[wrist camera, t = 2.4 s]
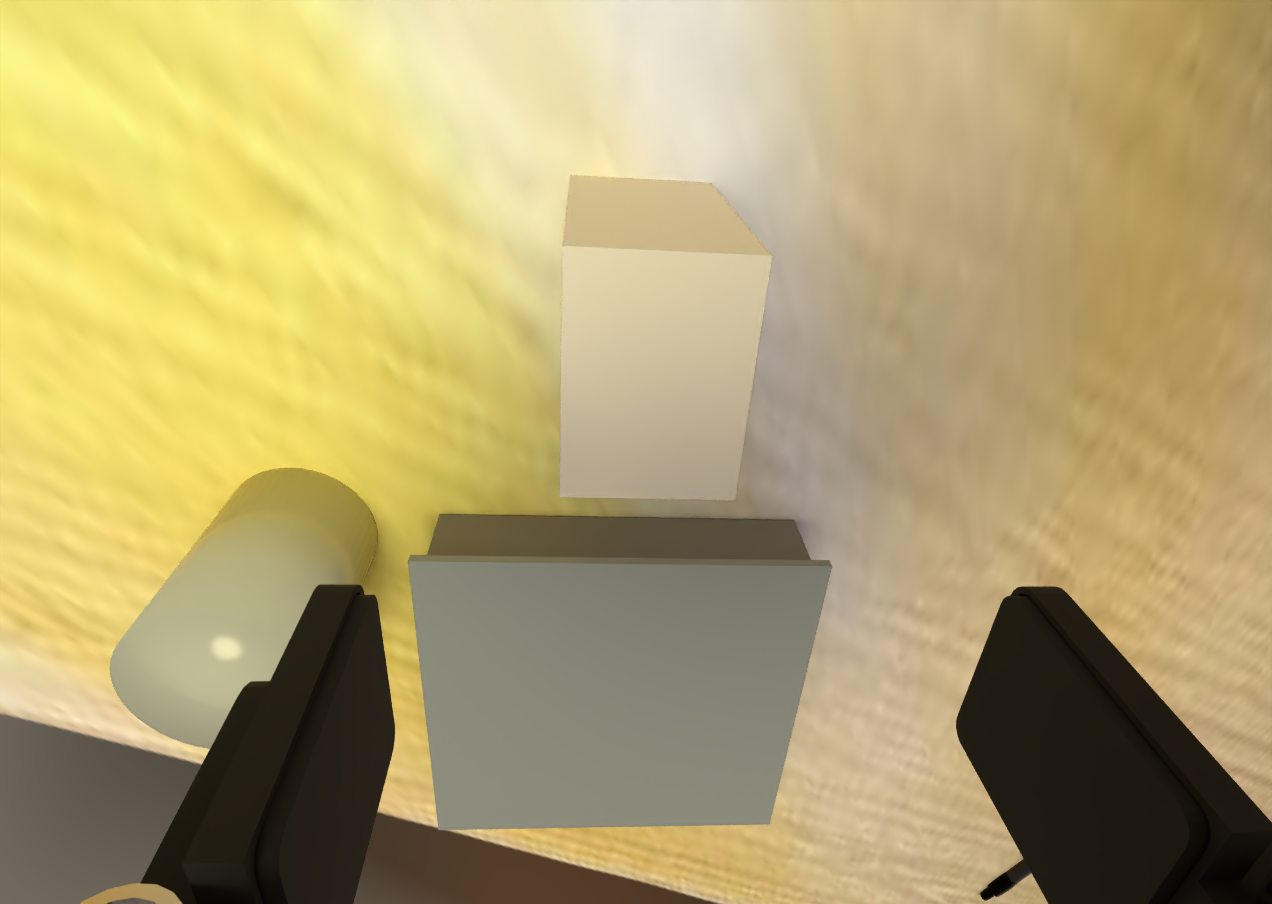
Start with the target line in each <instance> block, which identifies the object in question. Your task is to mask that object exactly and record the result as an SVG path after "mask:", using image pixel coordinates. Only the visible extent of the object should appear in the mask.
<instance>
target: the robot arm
mask: <svg viewBox="0 0 1272 904" xmlns="http://www.w3.org/2000/svg"><path fill="white" fill-rule="evenodd" d="M956 729H957V735H958V738H959V741H960V743H961V745H962V747H963V749H964V750H965V752H966V754H967V756H968V758H969V760H970V761H971V763H972V765H973V767H974V769H975V771H976V772H977V774H978V776H979V778H980V780H981V781H982V783H983V785H984V787H985V789H986V791H987V792H988V794H989V796H990V798H991V800H992V802H993V803H994V805H995V807H996V809H997V811H998V812H999V814H1000V816H1001V818H1002V820H1003V822H1004V823H1005V825H1006V827H1007V829H1008V831H1009V833H1010V834H1011V836H1012V838H1013V840H1014V842H1015V844H1016V845H1017V847H1018V849H1019V851H1020V853H1021V854H1022V856H1023V858H1024V860H1025V862H1026V864H1027V865H1028V867H1029V869H1030V871H1031V873H1032V875H1033V876H1034V878H1035V880H1036V882H1037V884H1038V885H1039V887H1040V889H1041V891H1042V893H1043V895H1044V896H1045V898H1046V900H1047V902H1048V904H1272V822H1271V821H1270V820H1269V819H1268V818H1267V817H1266V816H1265V815H1264V813H1263V812H1262V811H1261V810H1260V809H1259V808H1258V807H1257V806H1256V804H1255V803H1254V802H1253V801H1252V800H1251V799H1250V798H1249V797H1248V796H1247V794H1246V793H1245V792H1244V791H1243V790H1242V789H1241V788H1240V787H1239V785H1238V784H1237V783H1236V782H1235V781H1234V780H1233V779H1232V778H1231V776H1230V775H1229V774H1228V773H1227V772H1226V771H1225V770H1224V769H1223V767H1222V766H1221V765H1220V764H1219V763H1218V762H1217V761H1216V760H1215V758H1214V757H1213V756H1212V755H1211V754H1210V753H1209V752H1208V751H1207V750H1206V748H1205V747H1204V746H1203V745H1202V744H1201V743H1200V742H1199V741H1198V739H1197V738H1196V737H1195V736H1194V735H1193V734H1192V733H1191V732H1190V730H1189V729H1188V728H1187V727H1186V726H1185V725H1184V724H1183V723H1182V721H1181V720H1180V719H1179V718H1178V717H1177V716H1176V715H1175V714H1174V713H1173V711H1172V710H1171V709H1170V708H1169V707H1168V706H1167V705H1166V704H1165V702H1164V701H1163V700H1162V699H1161V698H1160V697H1159V696H1158V695H1157V693H1156V692H1155V691H1154V690H1153V689H1152V688H1151V687H1150V686H1149V684H1148V683H1147V682H1146V681H1145V680H1144V679H1143V678H1142V677H1141V675H1140V674H1139V673H1138V672H1137V671H1136V670H1135V669H1134V668H1133V667H1132V665H1131V664H1130V663H1129V662H1128V661H1127V660H1126V659H1125V658H1124V656H1123V655H1122V654H1121V653H1120V652H1119V651H1118V650H1117V649H1116V647H1115V646H1114V645H1113V644H1112V643H1111V642H1110V641H1109V640H1108V638H1107V637H1106V636H1105V635H1104V634H1103V633H1102V632H1101V631H1100V630H1099V628H1098V627H1097V626H1096V625H1095V624H1094V623H1093V622H1092V621H1091V619H1090V618H1089V617H1088V616H1087V615H1086V614H1085V613H1084V612H1083V610H1082V609H1081V608H1080V607H1079V606H1078V605H1077V604H1076V603H1075V601H1074V600H1073V599H1072V598H1071V597H1070V596H1069V595H1068V594H1067V593H1066V592H1065V591H1064V590H1063V589H1062V588H1058V587H1018V588H1016V589H1015V590H1014V591H1013V593H1012V594H1011V596H1007V597H1006V598H1004V599H1003V601H1002V603H1001V605H1000V608H999V610H998V613H997V615H996V618H995V620H994V623H993V626H992V628H991V631H990V633H989V636H988V639H987V641H986V644H985V646H984V649H983V651H982V654H981V657H980V659H979V662H978V664H977V667H976V670H975V672H974V675H973V677H972V680H971V682H970V685H969V688H968V690H967V693H966V695H965V698H964V700H963V703H962V706H961V708H960V711H959V713H958V716H957V720H956ZM394 739H395V723H394V716H393V709H392V702H391V695H390V688H389V680H388V673H387V666H386V659H385V652H384V645H383V638H382V630H381V623H380V616H379V609H378V602H377V598H376V596H375V595H364V591H363V588H362V586H361V585H338V584H319V585H318V586H316V588H315V589H314V591H313V593H312V595H311V597H310V599H309V601H308V603H307V605H306V607H305V609H304V611H303V613H302V616H301V618H300V620H299V622H298V624H297V626H296V628H295V630H294V632H293V634H292V636H291V638H290V640H289V643H288V645H287V647H286V649H285V651H284V653H283V655H282V657H281V659H280V661H279V663H278V665H277V667H276V670H275V672H274V674H273V676H272V678H271V680H270V681H251V682H249V683H248V684H247V685H246V686H244V687H243V689H242V690H241V692H240V693H239V695H238V697H237V698H236V700H235V702H234V704H233V706H232V708H231V710H230V712H229V714H228V716H227V718H226V720H225V721H224V723H223V725H222V727H221V729H220V731H219V733H218V735H217V737H216V739H215V741H214V743H213V745H212V746H211V748H210V750H209V752H208V754H207V756H206V758H205V760H204V762H203V764H202V766H201V768H200V770H199V772H198V773H197V775H196V777H195V779H194V781H193V783H192V785H191V787H190V789H189V791H188V793H187V795H186V797H185V799H184V800H183V802H182V804H181V806H180V808H179V810H178V812H177V814H176V816H175V818H174V820H173V821H172V823H171V825H170V827H169V829H168V831H167V833H166V835H165V837H164V839H163V841H162V843H161V844H160V846H159V848H158V850H157V852H156V854H155V856H154V858H153V860H152V862H151V864H150V866H149V868H148V870H147V872H146V873H145V875H144V877H143V880H142V881H141V883H140V884H139V883H134V884H129V885H125V886H121V887H116V888H112V889H109V890H107V891H104V892H103V893H100V894H98V895H95V896H93V897H91V898H89V899H87V900H85V901H83V902H81V903H80V904H353V902H354V898H355V894H356V891H357V887H358V883H359V879H360V875H361V871H362V868H363V864H364V860H365V856H366V852H367V848H368V845H369V841H370V837H371V833H372V829H373V825H374V822H375V817H376V814H377V810H378V806H379V802H380V799H381V795H382V791H383V787H384V783H385V779H386V776H387V772H388V768H389V764H390V760H391V756H392V752H393V747H394Z"/></svg>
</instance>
